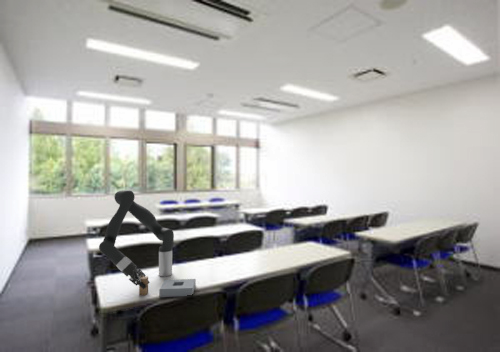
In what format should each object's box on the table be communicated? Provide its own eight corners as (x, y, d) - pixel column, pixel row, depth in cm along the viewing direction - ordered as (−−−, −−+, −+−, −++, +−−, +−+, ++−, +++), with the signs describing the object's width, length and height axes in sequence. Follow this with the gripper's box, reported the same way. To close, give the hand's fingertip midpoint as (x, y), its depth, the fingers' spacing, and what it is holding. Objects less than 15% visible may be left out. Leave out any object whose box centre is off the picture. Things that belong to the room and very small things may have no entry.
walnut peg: (141, 292, 162) (141, 276, 162) (148, 292, 162) (148, 276, 162) (139, 295, 158) (139, 279, 158) (146, 295, 158) (146, 278, 158)
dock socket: (165, 286, 170) (165, 279, 170) (195, 285, 172) (195, 278, 172) (159, 296, 155) (159, 289, 155) (192, 295, 157) (192, 287, 157)
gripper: (126, 265, 153) (147, 285, 153) (135, 258, 167) (154, 276, 168) (116, 275, 152) (138, 295, 153) (126, 267, 166) (145, 285, 167)
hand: (146, 285), depth 160 cm, fingers open, 5 cm apart
